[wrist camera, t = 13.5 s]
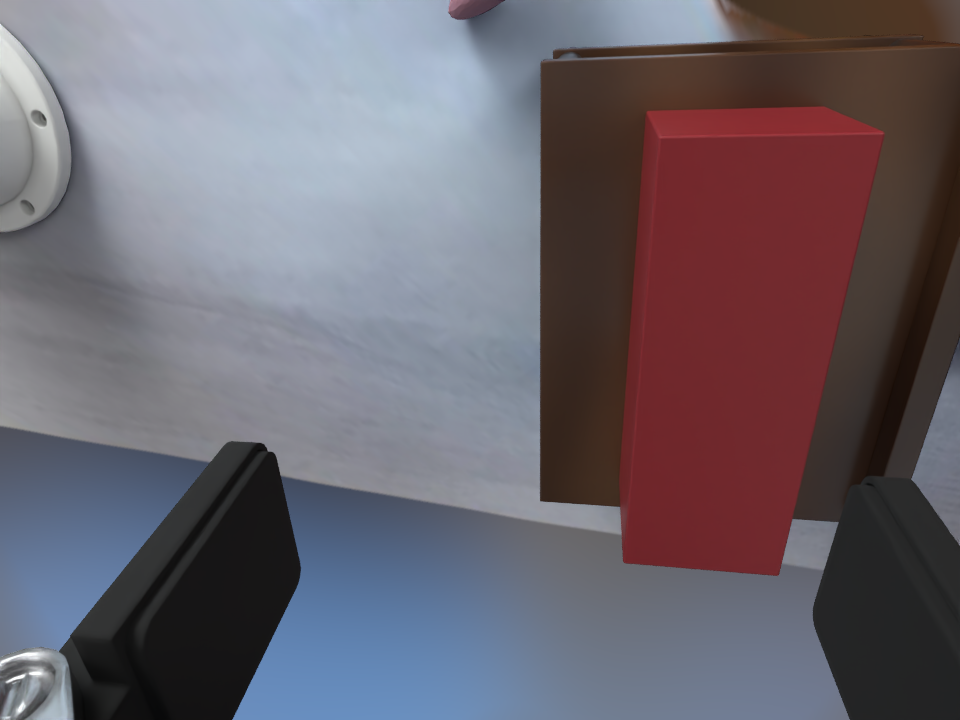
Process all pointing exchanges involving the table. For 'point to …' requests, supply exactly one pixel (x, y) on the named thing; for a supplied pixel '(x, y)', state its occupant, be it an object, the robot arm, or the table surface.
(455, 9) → the video game controller
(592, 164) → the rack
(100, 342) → the table surface
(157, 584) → the robot arm
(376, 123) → the table surface
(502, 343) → the table surface
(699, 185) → the red rectangular block
